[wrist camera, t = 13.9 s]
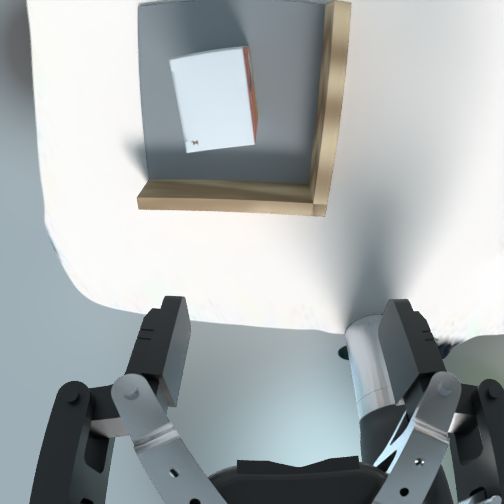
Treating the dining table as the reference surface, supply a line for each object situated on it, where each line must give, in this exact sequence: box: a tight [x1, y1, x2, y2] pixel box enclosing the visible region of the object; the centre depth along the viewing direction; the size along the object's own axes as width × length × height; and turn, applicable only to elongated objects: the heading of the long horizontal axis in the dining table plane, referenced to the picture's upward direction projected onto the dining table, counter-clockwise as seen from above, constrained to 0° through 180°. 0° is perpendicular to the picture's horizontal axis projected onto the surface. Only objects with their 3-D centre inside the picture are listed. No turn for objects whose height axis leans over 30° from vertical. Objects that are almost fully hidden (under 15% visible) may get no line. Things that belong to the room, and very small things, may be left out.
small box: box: [169, 46, 258, 153], centre depth 25 cm, size 8×6×10 cm
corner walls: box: [137, 0, 351, 217], centre depth 29 cm, size 22×20×5 cm
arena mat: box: [138, 0, 325, 184], centre depth 30 cm, size 21×19×1 cm
